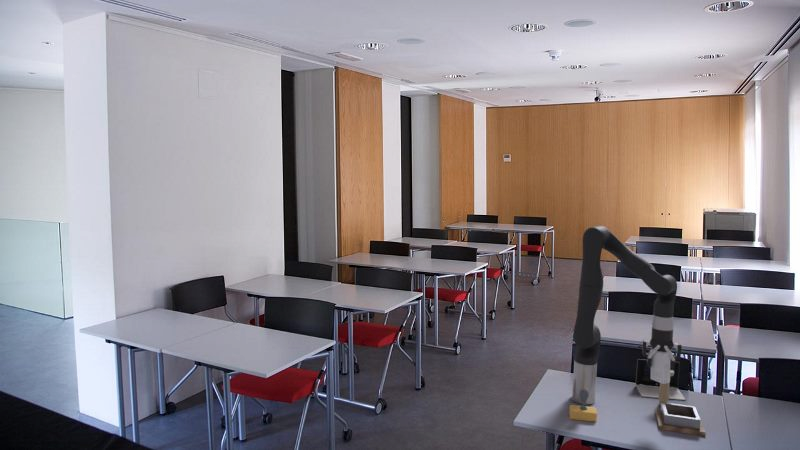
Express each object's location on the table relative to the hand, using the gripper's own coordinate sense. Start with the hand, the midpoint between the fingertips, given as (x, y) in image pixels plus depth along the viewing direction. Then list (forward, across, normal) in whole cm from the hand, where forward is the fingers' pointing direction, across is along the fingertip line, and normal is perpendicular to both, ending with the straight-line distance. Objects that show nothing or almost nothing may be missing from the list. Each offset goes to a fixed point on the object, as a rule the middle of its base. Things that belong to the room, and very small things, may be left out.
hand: (660, 368), depth 224 cm
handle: (+23, +4, +19) cm, 30 cm away
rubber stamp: (+22, -28, -5) cm, 36 cm away
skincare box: (+5, 0, 0) cm, 5 cm away
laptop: (+23, +4, +32) cm, 39 cm away
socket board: (+23, +8, +2) cm, 24 cm away
